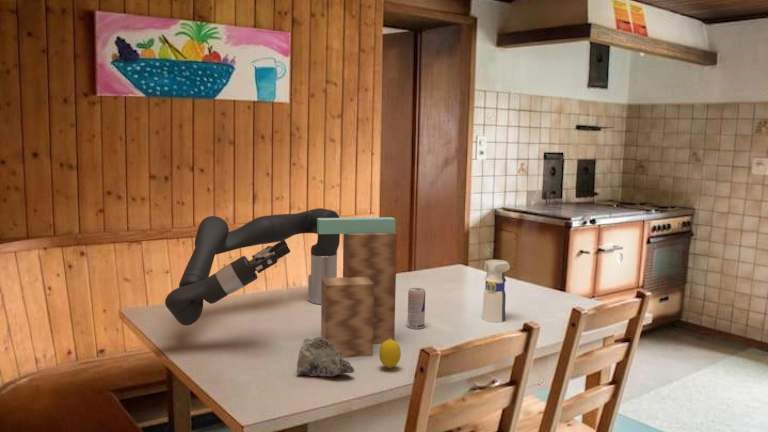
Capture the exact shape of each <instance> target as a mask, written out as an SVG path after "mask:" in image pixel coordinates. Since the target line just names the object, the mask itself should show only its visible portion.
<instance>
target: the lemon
mask: <svg viewBox="0 0 768 432" xmlns="http://www.w3.org/2000/svg"><path fill="white" fill-rule="evenodd" d="M378 354H379V355H378V356H379V360H380V362H381V364H382V365H384V367H387V369H390V370H391V369H392V368H393V367H395V366H397V365H398V364H399V362H400V360H401V356H402V355H401V348H400V345H399V343H398V342H397V341H395V339H394V340H392V339H389V340H386V341H385V342H383V343H381V345H380V347H379V353H378Z"/></svg>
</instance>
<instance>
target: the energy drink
mask: <svg viewBox="0 0 768 432" xmlns="http://www.w3.org/2000/svg"><path fill="white" fill-rule="evenodd" d="M425 316H426V289H424V288H421V287H409V289H408V291H407V322H406V323H407V325H406V326H407V327H408V328H409V329H413V330H422V329H424V328H425V318H426V317H425Z"/></svg>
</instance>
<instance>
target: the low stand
mask: <svg viewBox="0 0 768 432" xmlns="http://www.w3.org/2000/svg"><path fill="white" fill-rule="evenodd" d="M320 305H321V311H320V312H321V313H320V315H321V318H320V322H321V323H320V325H321V327H320V337H323V338H324V339H325V340H328V341H329V342H331V343H332V344H334V345H335V346H336V347H337V348H338V350H339V351H340V354H341V356H342V357H344V358H351V357H365V356H367V357H368V356H370V357H371V356H373V355H374V354H373V353H374V344H373V317H374V283H373V282H372V281H371V280H370V279H369V278H368V277H343V276H342V277H337V278H322V294H321V304H320Z"/></svg>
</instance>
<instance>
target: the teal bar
mask: <svg viewBox="0 0 768 432" xmlns="http://www.w3.org/2000/svg"><path fill="white" fill-rule="evenodd" d="M317 232H318V234H340V235H343V234H363V233H396V218H394V217H392V216H389V217H384V216H383V217H339V218H317ZM318 234H317V235H318Z"/></svg>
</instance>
